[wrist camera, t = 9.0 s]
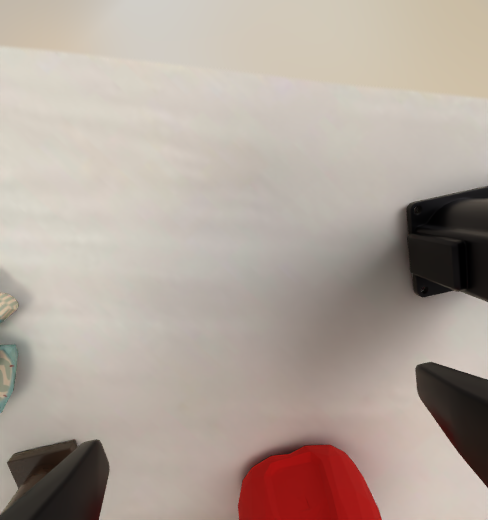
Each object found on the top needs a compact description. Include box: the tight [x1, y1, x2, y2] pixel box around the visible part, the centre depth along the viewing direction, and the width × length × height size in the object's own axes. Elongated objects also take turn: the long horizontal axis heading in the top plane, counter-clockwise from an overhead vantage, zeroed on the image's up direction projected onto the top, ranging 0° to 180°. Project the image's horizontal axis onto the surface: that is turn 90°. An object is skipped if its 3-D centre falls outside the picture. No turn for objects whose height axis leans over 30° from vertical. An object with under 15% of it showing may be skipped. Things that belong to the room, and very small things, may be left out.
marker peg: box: [1, 440, 78, 514], centre depth 19 cm, size 4×4×5 cm
